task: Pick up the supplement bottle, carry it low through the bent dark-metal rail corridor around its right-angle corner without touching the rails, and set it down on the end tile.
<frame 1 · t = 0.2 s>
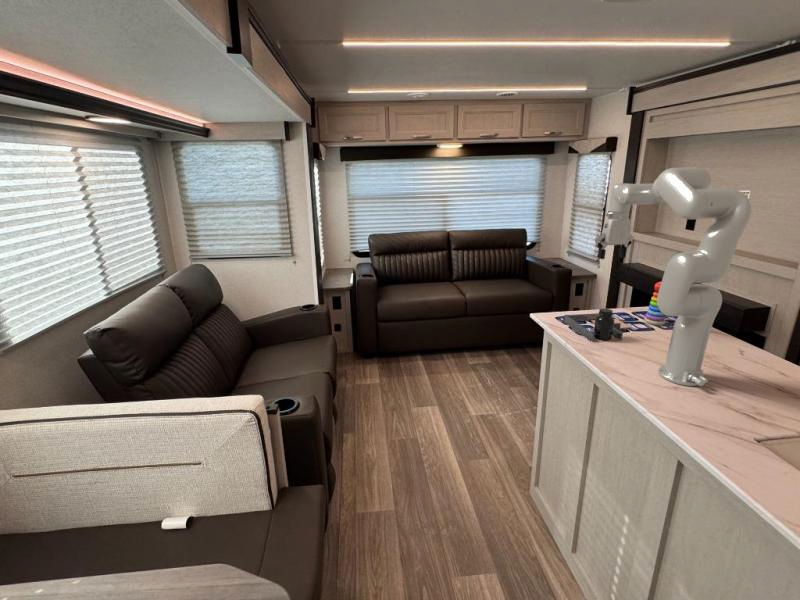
hand: (611, 257, 166), 30 cm above the table, tool pointing down, fingers open, 9 cm apart
end pad: (610, 324, 177), on the table
stacking toy: (654, 323, 179), on the table
supplement bottle: (602, 338, 164), on the table
bent rails: (597, 330, 172), on the table
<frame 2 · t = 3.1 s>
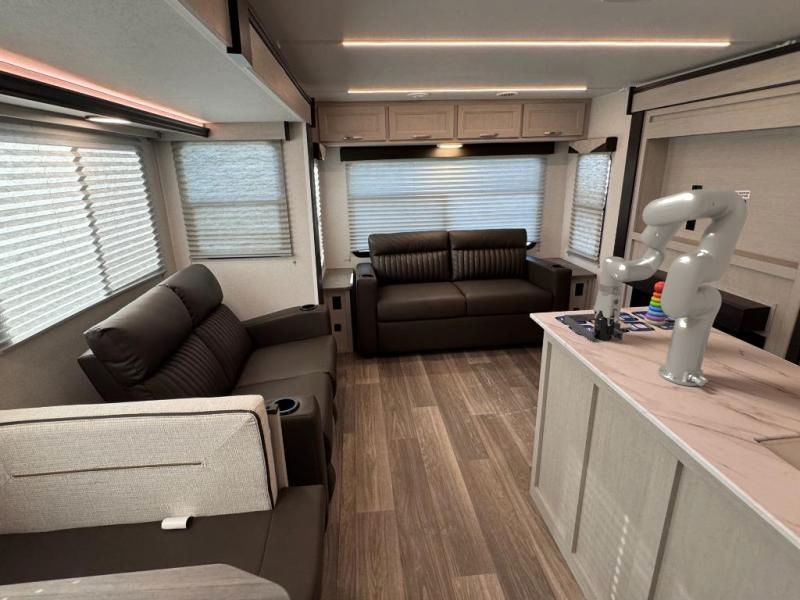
hand: (603, 330, 163), 3 cm above the table, tool pointing down, fingers closed on supplement bottle, 6 cm apart
supplement bottle: (602, 338, 164), on the table, touching gripper
everything else where it was.
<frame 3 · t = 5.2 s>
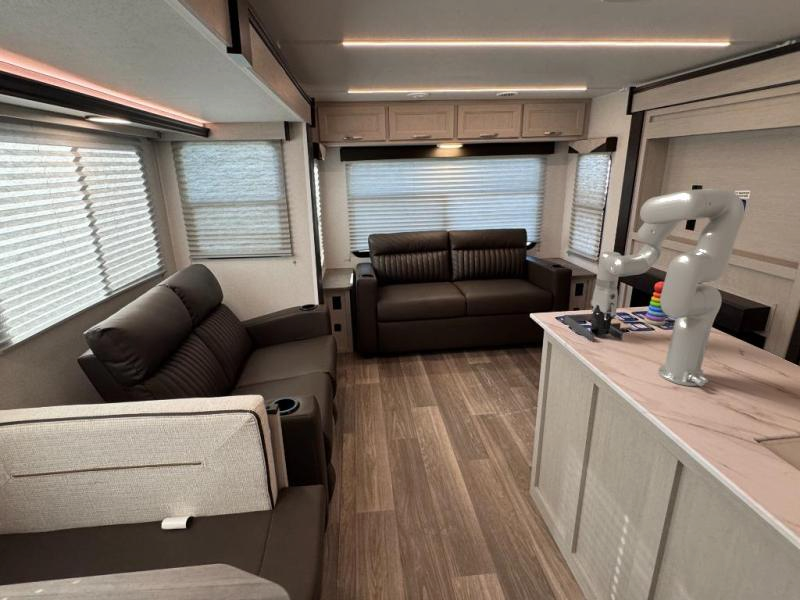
hand: (600, 325, 165), 5 cm above the table, tool pointing down, fingers closed on supplement bottle, 6 cm apart
supplement bottle: (599, 332, 166), point 1 cm above the table, touching gripper
everything else where it was.
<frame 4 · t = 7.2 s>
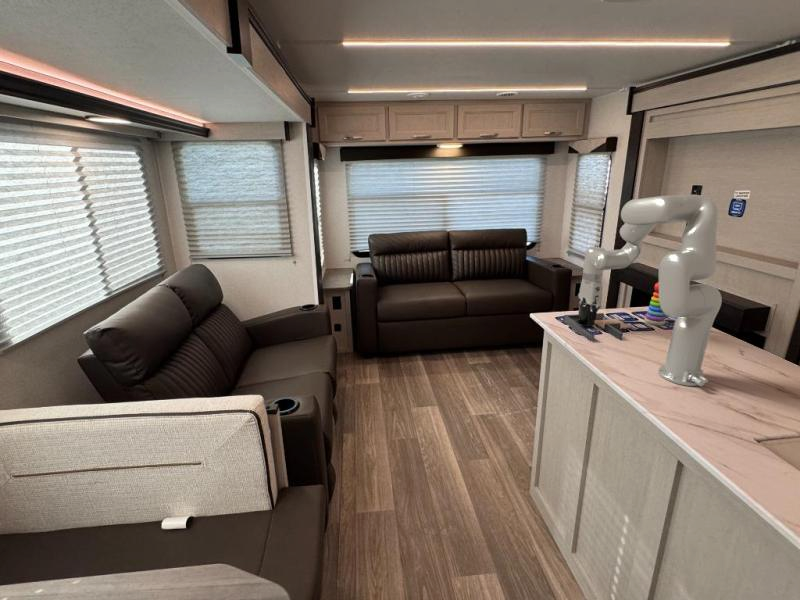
hand: (586, 316, 174), 5 cm above the table, tool pointing down, fingers closed on supplement bottle, 6 cm apart
supplement bottle: (585, 324, 175), point 1 cm above the table, touching gripper
everything else where it was.
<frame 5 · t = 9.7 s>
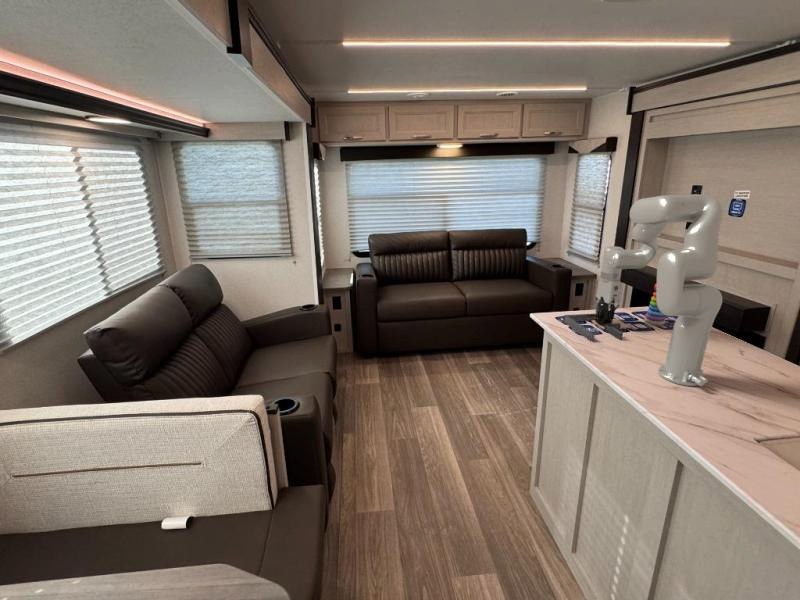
hand: (604, 315, 175), 5 cm above the table, tool pointing down, fingers closed on supplement bottle, 6 cm apart
supplement bottle: (603, 322, 177), point 1 cm above the table, touching gripper
everything else where it was.
when the fingers open (4 cm above the table, at t = 11.7 s): supplement bottle stays where it is, resting on end pad.
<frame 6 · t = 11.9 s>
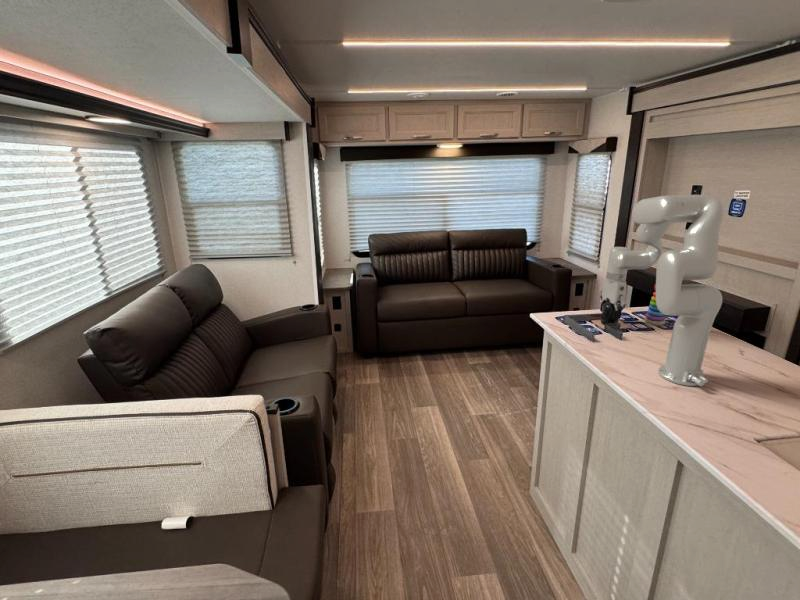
hand: (609, 314, 176), 5 cm above the table, tool pointing down, fingers open, 8 cm apart
supplement bottle: (608, 324, 177), resting on end pad
everything else where it was.
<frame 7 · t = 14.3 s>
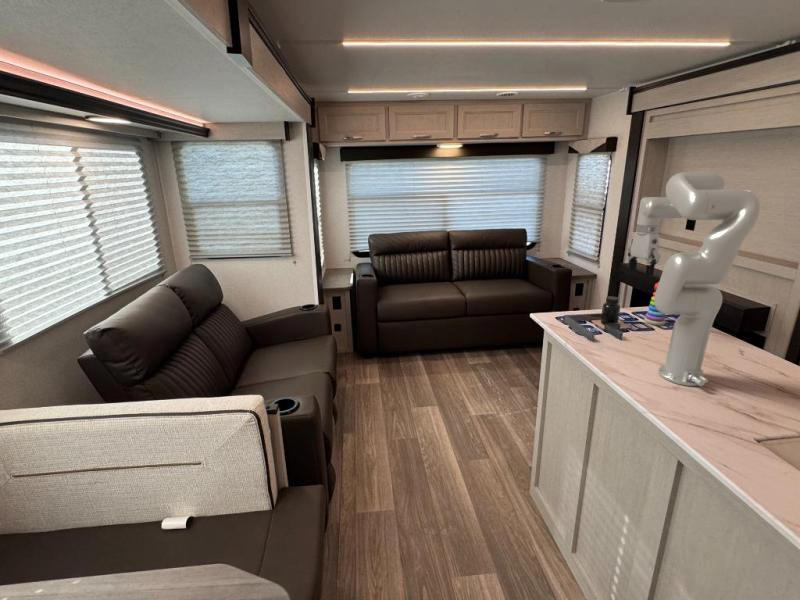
hand: (640, 272, 163), 25 cm above the table, tool pointing down, fingers open, 9 cm apart
nothing on the table moved.
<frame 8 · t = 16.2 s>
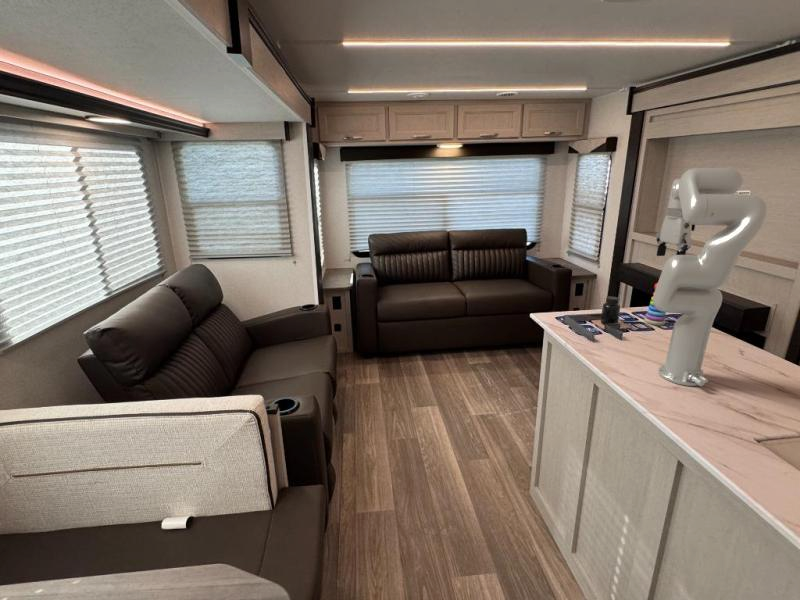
hand: (669, 258, 155), 32 cm above the table, tool pointing down, fingers open, 9 cm apart
nothing on the table moved.
at the end: supplement bottle inside the target area (0.2 cm from its centre), resting on end pad; supplement bottle tilted 0°; supplement bottle touching end pad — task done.
